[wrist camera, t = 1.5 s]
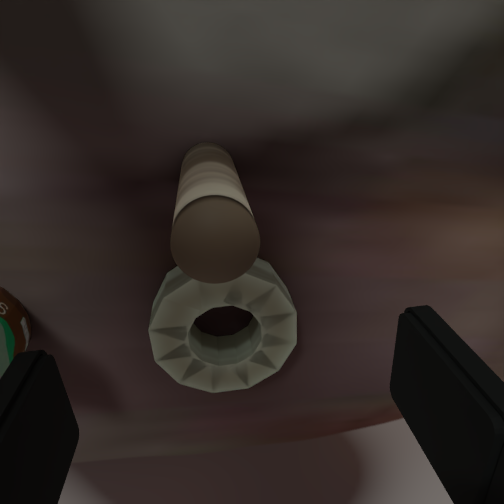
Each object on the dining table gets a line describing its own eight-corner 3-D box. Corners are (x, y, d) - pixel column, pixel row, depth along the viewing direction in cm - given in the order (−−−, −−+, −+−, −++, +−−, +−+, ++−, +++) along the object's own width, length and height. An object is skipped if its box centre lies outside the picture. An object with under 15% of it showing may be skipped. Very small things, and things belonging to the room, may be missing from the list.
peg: (178, 144, 29) (163, 206, 16) (232, 140, 29) (258, 197, 17) (185, 196, 30) (176, 288, 18) (235, 191, 31) (262, 278, 18)
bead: (144, 257, 32) (138, 282, 29) (285, 243, 33) (296, 265, 30) (166, 367, 38) (163, 399, 34) (287, 352, 39) (296, 381, 35)
